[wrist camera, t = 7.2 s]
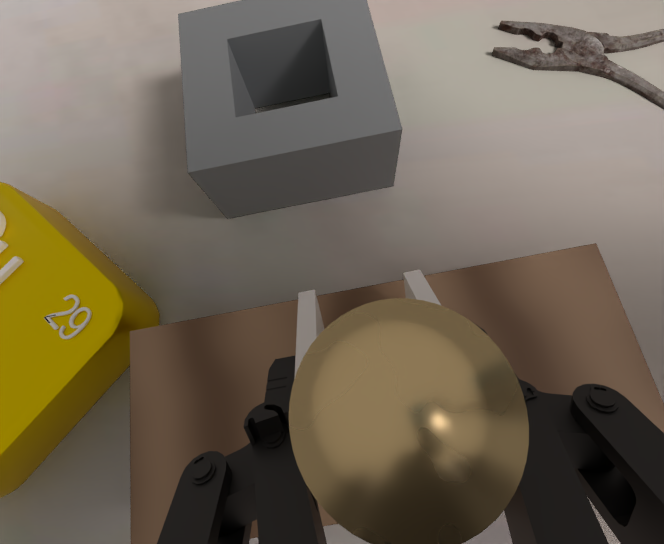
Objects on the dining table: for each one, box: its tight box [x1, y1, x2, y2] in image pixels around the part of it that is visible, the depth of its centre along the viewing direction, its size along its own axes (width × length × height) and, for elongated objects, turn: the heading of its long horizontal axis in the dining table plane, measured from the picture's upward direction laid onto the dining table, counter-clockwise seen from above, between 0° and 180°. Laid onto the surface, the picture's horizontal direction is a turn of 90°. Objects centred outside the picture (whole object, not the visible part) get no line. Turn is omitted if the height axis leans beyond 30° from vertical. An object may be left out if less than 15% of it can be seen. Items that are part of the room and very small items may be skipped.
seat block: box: [178, 0, 402, 219], centre depth 24 cm, size 12×12×6 cm
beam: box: [130, 243, 664, 544], centre depth 19 cm, size 24×10×5 cm, turn 100°
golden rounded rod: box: [289, 298, 529, 544], centre depth 14 cm, size 4×4×16 cm
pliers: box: [492, 21, 664, 108], centre depth 26 cm, size 10×1×20 cm
